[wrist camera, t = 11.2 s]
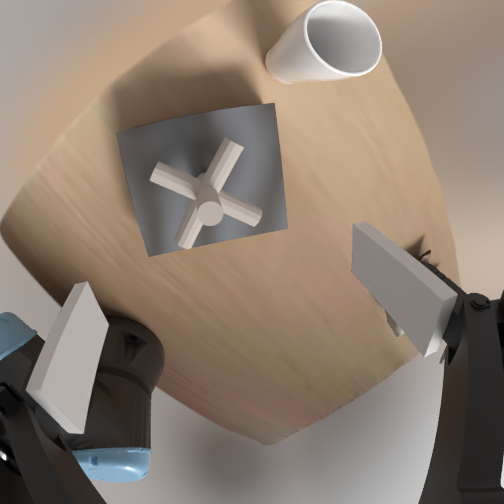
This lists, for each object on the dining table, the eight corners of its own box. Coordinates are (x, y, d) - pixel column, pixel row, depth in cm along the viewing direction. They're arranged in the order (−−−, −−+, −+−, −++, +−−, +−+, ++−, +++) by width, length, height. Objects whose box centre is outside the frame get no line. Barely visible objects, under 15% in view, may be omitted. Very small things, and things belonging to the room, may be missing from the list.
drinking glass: (299, 33, 27) (363, -6, 14) (320, 80, 30) (394, 68, 17) (248, 48, 27) (286, 4, 14) (271, 97, 30) (324, 86, 17)
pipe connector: (141, 204, 28) (120, 247, 19) (183, 116, 25) (176, 116, 16) (225, 240, 32) (239, 292, 23) (270, 160, 29) (305, 183, 20)
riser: (153, 238, 35) (148, 256, 31) (127, 130, 29) (116, 133, 24) (276, 214, 37) (287, 228, 33) (263, 104, 30) (274, 102, 26)
